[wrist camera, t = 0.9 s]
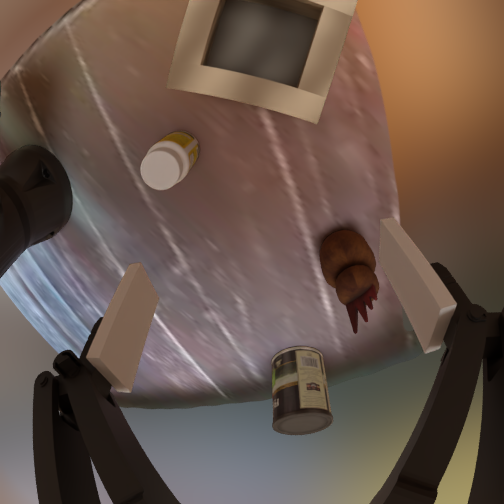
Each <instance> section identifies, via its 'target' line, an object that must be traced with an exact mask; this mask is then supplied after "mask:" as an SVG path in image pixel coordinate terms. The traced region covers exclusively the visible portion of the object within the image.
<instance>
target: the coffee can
mask: <svg viewBox="0 0 504 504" xmlns="http://www.w3.org/2000/svg"><path fill="white" fill-rule="evenodd" d="M271 365H272V387H273V425H272V427H273V429H274V430H275V431H276V432H279V433H282V434H287V435H304V434H311V433H315V432H318V431H321V430H323V429H325V428H327V427H329V426H330V425H331V424H332V423H333V416H332V414H331V407H330V401H329V394H328V387H327V381H326V375H325V369H324V363H323V355H322V354H321V352H320V351H318V350H317V349H314V348H311V347H306V346H298V347H291V348H287V349H285V350H282V351H280V352H279V353H277V354H276V355H275V356H274V357H273V359H272V362H271Z"/></svg>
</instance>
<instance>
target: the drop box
mask: <svg viewBox="0 0 504 504" xmlns="http://www.w3.org/2000/svg"><path fill="white" fill-rule="evenodd" d="M356 3H357V0H190V1H189V4H188V7H187V10H186V13H185V17H184V20H183V23H182V26H181V30H180V33H179V37H178V40H177V44H176V48H175V52H174V55H173V59H172V63H171V67H170V71H169V76H168V80H167V84H166V88H170V89H177V90H183V91H189V92H195V93H200V94H205V95H211V96H216V97H220V98H225V99H230V100H234V101H238V102H242V103H247V104H251V105H255V106H258V107H262V108H266V109H270V110H273V111H277V112H280V113H284V114H287V115H290V116H294V117H297V118H300V119H303V120H306V121H309V122H312V123H315V124H318V121H319V118H320V115H321V112H322V109H323V106H324V103H325V100H326V97H327V94H328V91H329V88H330V85H331V82H332V79H333V76H334V73H335V70H336V66H337V63H338V60H339V57H340V54H341V51H342V48H343V45H344V42H345V39H346V35H347V32H348V29H349V26H350V23H351V19H352V16H353V13H354V10H355V7H356Z"/></svg>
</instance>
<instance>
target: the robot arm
mask: <svg viewBox="0 0 504 504" xmlns="http://www.w3.org/2000/svg"><path fill="white" fill-rule="evenodd" d="M0 94H1V82H0ZM0 117H1V112H0ZM71 209H72V194H71V188H70V184H69V181H68V178H67V175H66V173H65V171H64V169H63V167H62V166H61V164H60V163H59V161H58V160H57V159H56V158H55V156H54V155H53V154H51V153H50V152H49V151H48V150H46V149H44V148H42V147H40V146H36V145H28V146H24V147H22V148H20V149H18V150H16V151H14V152H12V153H11V154H10V155H9V156H8V157H7V158H6V159H5V160H4V162H3V163H2V164H1V165H0V278H1V277H2V276H3V275H4V273H5V272H6V271H7V270H8V269H9V267H10V266H11V265H12V264H13V263H14V262H15V261H16V259H17V258H18V257H19V256H20V255H21V254H22V253H23V252H24V251H25V250H26V249H27V248H28V247H31V246H33V245H36V244H38V243H40V242H43V241H45V240H48V239H50V238H52V237H53V236H55V235H56V234H57V233H58V232H59V231H60V230H61V229H62V228H63V227H64V226H65V225H66V223H67V221H68V219H69V217H70V214H71ZM379 263H380V265H381V267H382V269H383V270H384V272H385V274H386V276H387V278H388V279H389V281H390V283H391V285H392V287H393V289H394V291H395V293H396V294H397V296H398V298H399V300H400V302H401V304H402V306H403V308H404V310H405V312H406V314H407V316H408V318H409V320H410V322H411V324H412V326H413V328H414V331H415V333H416V335H417V337H418V339H419V341H420V344H421V346H422V348H423V350H424V352H425V353H428V352H431V351H434V350H437V349H440V347H441V344H442V342H443V340H444V342H445V344H446V346H447V348H446V350H445V352H444V354H443V356H442V359H441V361H442V362H441V365H440V368H439V371H438V373H437V376H436V379H435V382H434V384H433V387H432V390H431V392H430V395H429V397H428V400H427V402H426V404H425V407H424V409H423V411H422V414H421V416H420V418H419V420H418V423H417V424H416V427H415V429H414V431H413V433H412V435H411V437H410V439H409V441H408V443H407V445H406V447H405V449H404V451H403V452H402V454H401V456H400V458H399V460H398V461H397V463H396V465H395V467H394V469H393V470H392V472H391V474H390V475H389V477H388V478H387V480H386V482H385V483H384V485H383V486H382V488H381V489H380V491H379V492H378V493H377V494H376V496H375V497H374V498H373V499H372V501H371V503H370V504H434V502H435V500H436V497H437V488H438V485H439V483H440V481H441V479H442V477H443V475H444V473H445V471H446V468H447V466H448V464H449V462H450V459H451V457H452V455H453V453H454V450H455V448H456V445H457V443H458V440H459V437H460V435H461V432H462V429H463V426H464V423H465V421H466V417H467V414H468V411H469V408H470V405H471V402H472V398H473V394H474V391H475V387H476V384H477V379H478V376H479V371H480V367H481V362H482V359H483V405H482V422H481V432H480V442H479V449H478V456H477V462H476V468H475V473H474V478H473V483H472V488H471V492H470V496H469V500H468V504H504V308H503V310H502V312H498V313H497V312H496V313H488V312H486V310H485V309H484V308H482V307H481V306H479V305H477V304H472V303H471V302H470V300H469V299H468V298H467V296H466V294H465V293H464V292H463V290H462V289H461V287H460V286H459V285H458V283H456V280H455V279H454V278H453V277H452V275H451V274H450V272H449V271H448V270H447V268H446V267H444V266H443V265H441V264H440V263H438V262H437V263H432V264H429V263H428V262H427V260H426V258H425V257H424V256H423V254H422V253H421V252H420V250H419V249H418V248H417V247H416V245H415V244H414V243H413V241H412V240H411V239H410V237H409V236H408V235H407V234H406V232H405V231H404V230H403V229H402V227H401V226H400V225H399V224H398V223H397V221H396V220H395V219H394V218H387V219H381V220H380V249H379ZM158 300H159V297H158V295H157V293H156V291H155V289H154V288H153V286H152V284H151V282H150V280H149V278H148V276H147V274H146V272H145V270H144V268H143V266H142V263H141V262H139V263H134V264H130V265H129V267H128V268H127V270H126V272H125V274H124V276H123V278H122V280H121V282H120V284H119V286H118V288H117V290H116V292H115V294H114V296H113V298H112V300H111V302H110V304H109V307H108V309H107V311H106V313H105V315H104V317H100V319H99V320H98V321H97V322H96V323H95V324H94V326H93V329H92V331H91V334H90V335H89V337H88V340H87V342H86V344H85V346H84V349H83V351H82V353H81V356H80V358H78V357H77V356H76V355H75V354H74V353H73V351H71V350H65V351H63V352H61V353H60V354H58V355H57V357H56V358H55V360H54V362H53V368H54V369H55V371H57V372H58V374H59V376H54V375H53V374H52V373H51V372H49V371H44V372H42V373H41V374H39V375H38V377H37V378H36V380H35V384H34V399H33V450H34V466H35V477H36V485H37V493H38V499H39V504H101V503H100V499H99V495H98V491H97V487H96V483H95V478H94V474H93V469H92V464H91V459H92V462H93V464H94V466H95V468H96V470H97V473H98V474H99V477H100V479H101V481H102V483H103V485H104V487H105V489H106V491H107V493H108V495H109V497H110V498H111V500H112V502H113V504H181V503H179V501H178V500H177V499H176V498H175V496H174V495H173V493H172V492H171V491H170V489H169V488H168V487H167V485H166V484H165V483H164V481H163V480H162V478H161V477H160V475H159V474H158V472H157V471H156V469H155V468H154V466H153V465H152V463H151V462H150V460H149V458H148V457H147V455H146V454H145V452H144V450H143V449H142V447H141V445H140V444H139V442H138V440H137V439H136V437H135V435H134V434H133V432H132V430H131V428H130V426H129V425H128V423H127V421H126V419H125V417H124V415H123V413H122V411H121V409H120V407H119V406H118V404H117V402H116V400H115V397H114V395H113V394H112V393H111V392H110V389H111V386H113V387H114V388H115V389H116V390H117V391H118V392H130V393H131V391H132V387H133V383H134V379H135V376H136V372H137V369H138V365H139V361H140V358H141V355H142V351H143V348H144V344H145V341H146V338H147V335H148V331H149V328H150V325H151V322H152V319H153V316H154V312H155V309H156V306H157V303H158ZM59 411H60V415H59ZM90 457H91V459H90Z"/></svg>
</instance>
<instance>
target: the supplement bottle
mask: <svg viewBox="0 0 504 504" xmlns="http://www.w3.org/2000/svg"><path fill="white" fill-rule="evenodd" d="M199 153H200V146H199V143H198V141H197V139H196V138H195V137H194V136H193V135H192V134H190V133H189V132H186V131H175V132H172V133H170V134H168V135H167V136H166V137H164V138H163V139H161V140H160V141H158V142H157V143H156V144H154V145H153V146H152V147H151V148H150V149H149V151H148V152H147V154H146V156H145V158H144V159H143V161H142V163H141V168H140V171H141V176H142V178H143V180H144V181H145V183H146V184H147V185H148V186H150V187H151V188H153V189H157V190H166V189H169V188H171V187H172V186H174V185H175V184H177V183H179V182H180V181H181V180H183V179H184V178H185V176H186V175H187V174H188V172H189V171H190V169H191V168H192V166H193V165H194V164H195V162H196V161H197V159H198V157H199Z"/></svg>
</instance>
